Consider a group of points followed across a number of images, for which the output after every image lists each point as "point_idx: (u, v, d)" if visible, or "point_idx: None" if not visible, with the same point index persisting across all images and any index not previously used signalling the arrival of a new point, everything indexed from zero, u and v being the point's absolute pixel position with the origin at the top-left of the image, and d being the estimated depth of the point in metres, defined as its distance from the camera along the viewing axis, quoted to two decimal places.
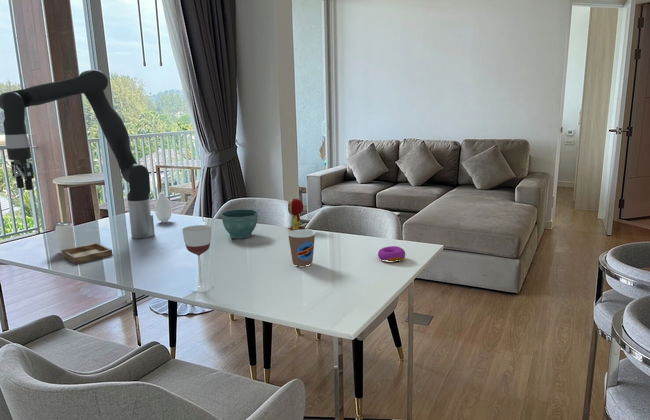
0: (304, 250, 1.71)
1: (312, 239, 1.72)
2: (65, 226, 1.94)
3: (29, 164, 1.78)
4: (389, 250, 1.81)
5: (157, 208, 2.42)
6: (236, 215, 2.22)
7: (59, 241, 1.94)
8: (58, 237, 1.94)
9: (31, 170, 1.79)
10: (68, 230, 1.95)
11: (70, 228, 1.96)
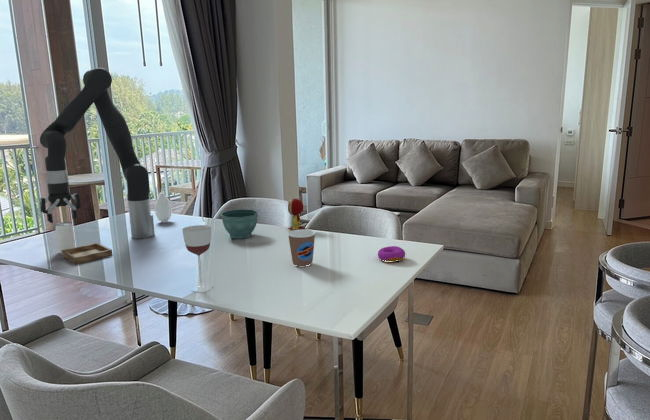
0: (304, 250, 1.71)
1: (312, 239, 1.72)
2: (65, 226, 1.94)
3: None
4: (389, 250, 1.81)
5: (157, 208, 2.42)
6: (236, 215, 2.22)
7: (59, 241, 1.94)
8: (58, 237, 1.94)
9: None
10: (68, 230, 1.95)
11: (70, 228, 1.96)
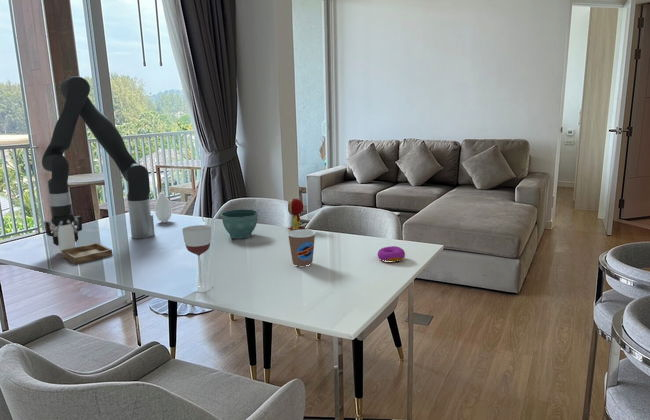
0: (304, 250, 1.71)
1: (312, 239, 1.72)
2: (65, 226, 1.94)
3: None
4: (389, 250, 1.81)
5: (157, 208, 2.42)
6: (236, 215, 2.22)
7: (59, 241, 1.94)
8: (58, 237, 1.94)
9: None
10: (68, 230, 1.95)
11: (70, 228, 1.96)
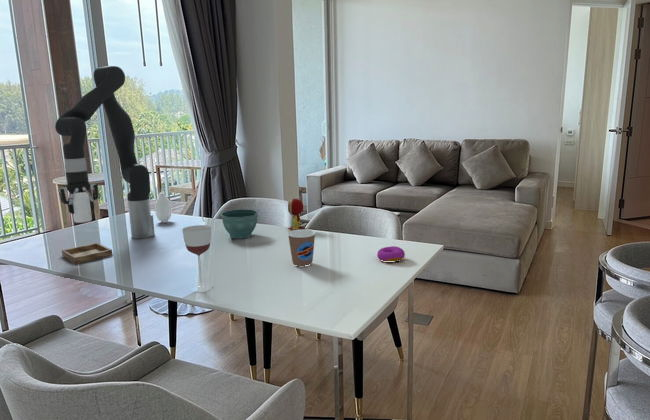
0: (304, 250, 1.71)
1: (312, 239, 1.72)
2: (81, 193, 1.85)
3: None
4: (388, 250, 1.81)
5: (157, 208, 2.42)
6: (236, 215, 2.22)
7: (74, 209, 1.85)
8: (73, 205, 1.85)
9: None
10: (84, 198, 1.86)
11: (86, 196, 1.86)
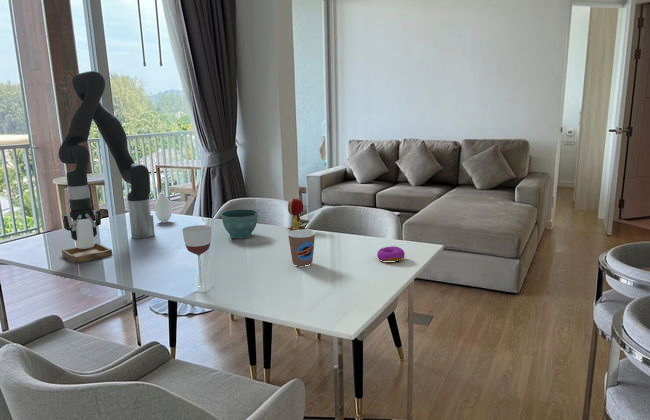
0: (304, 250, 1.71)
1: (312, 239, 1.72)
2: (84, 220, 1.87)
3: None
4: (388, 250, 1.81)
5: (157, 208, 2.42)
6: (236, 215, 2.22)
7: (77, 236, 1.88)
8: (76, 231, 1.87)
9: None
10: (87, 224, 1.88)
11: (89, 222, 1.89)
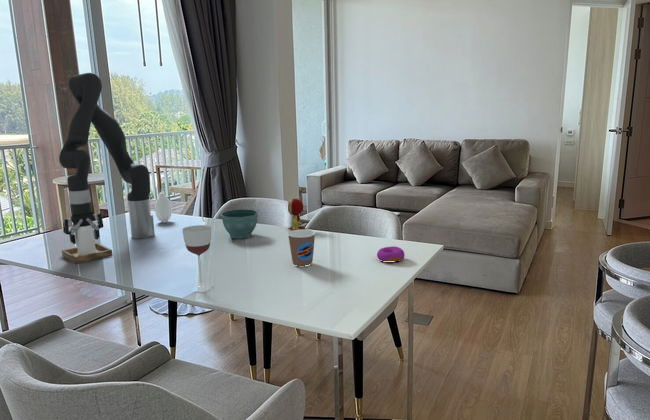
0: (304, 250, 1.71)
1: (312, 239, 1.72)
2: (85, 227, 1.88)
3: None
4: (388, 250, 1.81)
5: (157, 208, 2.42)
6: (236, 215, 2.22)
7: (79, 243, 1.88)
8: (78, 239, 1.88)
9: None
10: (88, 231, 1.89)
11: (90, 229, 1.89)
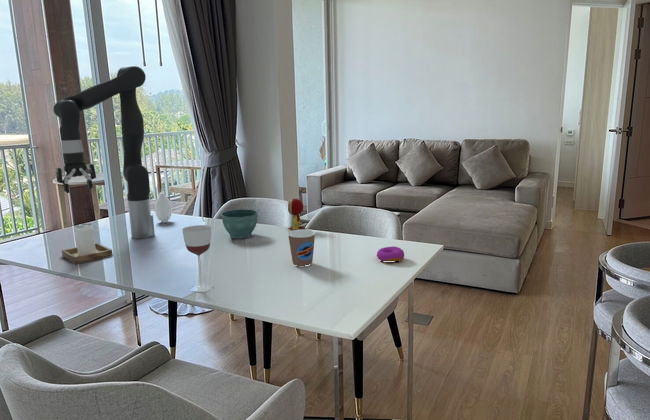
0: (304, 250, 1.71)
1: (312, 239, 1.72)
2: (85, 228, 1.88)
3: None
4: (388, 250, 1.81)
5: (157, 208, 2.42)
6: (236, 215, 2.22)
7: (79, 243, 1.88)
8: (78, 239, 1.88)
9: None
10: (88, 232, 1.89)
11: (90, 230, 1.89)
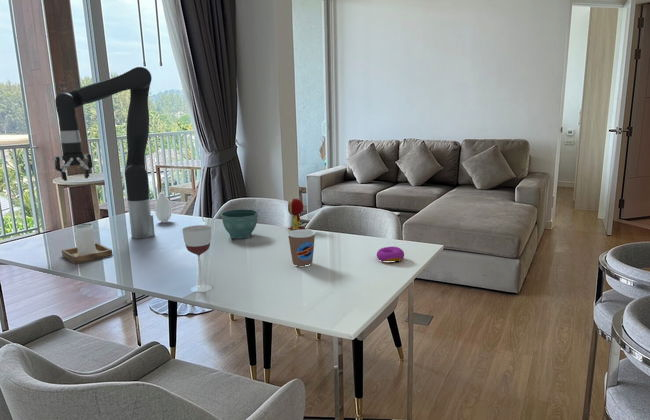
0: (304, 250, 1.71)
1: (312, 239, 1.72)
2: (85, 228, 1.88)
3: None
4: (388, 250, 1.81)
5: (157, 208, 2.42)
6: (236, 215, 2.22)
7: (79, 243, 1.88)
8: (78, 239, 1.88)
9: None
10: (88, 232, 1.89)
11: (90, 230, 1.89)
